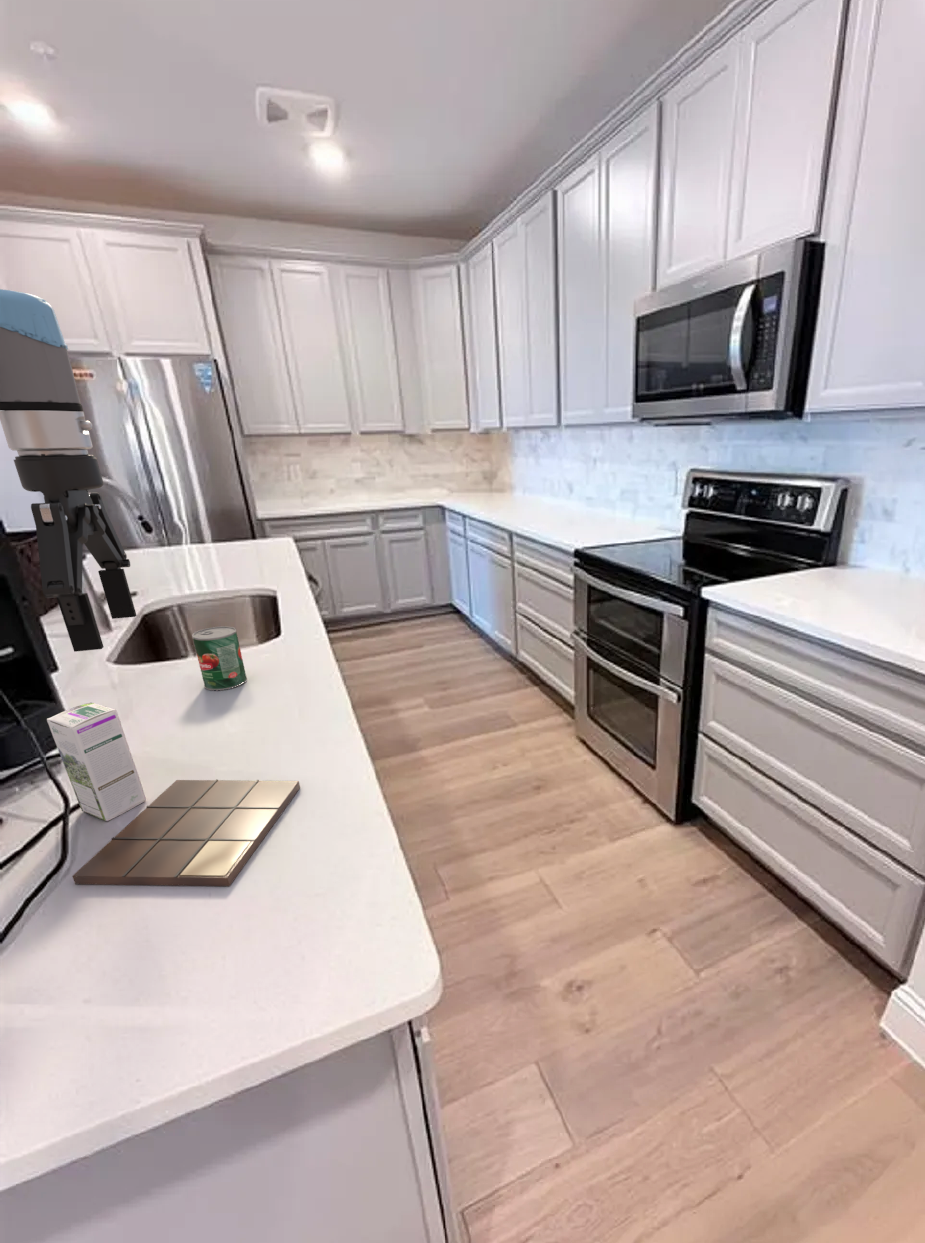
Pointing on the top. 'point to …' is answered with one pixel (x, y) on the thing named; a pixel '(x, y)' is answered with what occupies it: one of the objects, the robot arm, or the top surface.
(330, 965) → the top surface
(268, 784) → the game board
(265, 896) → the top surface
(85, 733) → the syrup box
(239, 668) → the canned tomato
